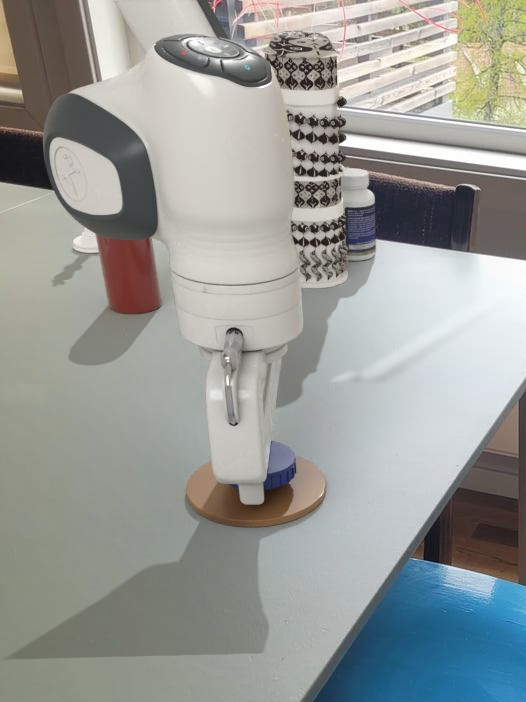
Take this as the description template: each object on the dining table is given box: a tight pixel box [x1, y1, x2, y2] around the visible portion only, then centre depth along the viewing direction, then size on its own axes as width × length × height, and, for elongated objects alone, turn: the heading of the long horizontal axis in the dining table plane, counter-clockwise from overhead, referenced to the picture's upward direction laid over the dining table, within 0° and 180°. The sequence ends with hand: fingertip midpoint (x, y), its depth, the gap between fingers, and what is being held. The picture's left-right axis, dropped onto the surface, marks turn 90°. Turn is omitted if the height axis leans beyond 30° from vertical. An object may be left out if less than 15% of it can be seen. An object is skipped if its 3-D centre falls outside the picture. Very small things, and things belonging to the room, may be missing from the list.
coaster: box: [185, 455, 327, 528], centre depth 80 cm, size 11×11×1 cm
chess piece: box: [72, 226, 99, 254], centre depth 120 cm, size 5×5×10 cm
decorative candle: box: [261, 30, 349, 289], centre depth 111 cm, size 9×9×25 cm
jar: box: [95, 234, 163, 315], centre depth 106 cm, size 6×6×10 cm
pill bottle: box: [341, 167, 377, 262], centre depth 123 cm, size 5×5×10 cm
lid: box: [228, 440, 296, 490], centre depth 79 cm, size 6×6×1 cm
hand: (256, 475), depth 79 cm, fingers closed on lid, 6 cm apart
